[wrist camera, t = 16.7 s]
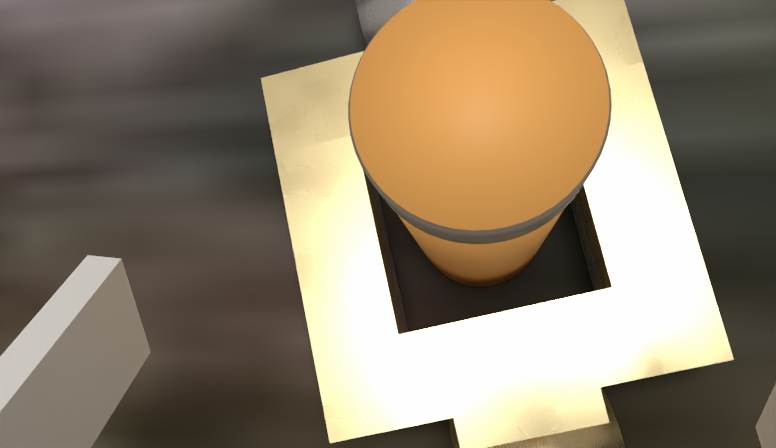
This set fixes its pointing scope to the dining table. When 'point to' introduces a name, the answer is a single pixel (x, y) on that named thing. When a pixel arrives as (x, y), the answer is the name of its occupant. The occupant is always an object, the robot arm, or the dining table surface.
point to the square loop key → (508, 328)
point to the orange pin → (479, 127)
